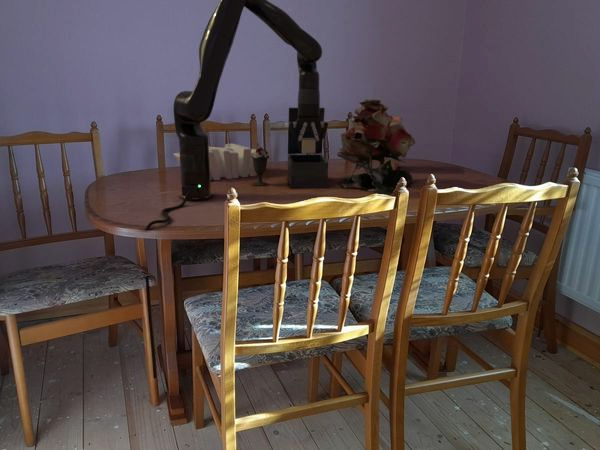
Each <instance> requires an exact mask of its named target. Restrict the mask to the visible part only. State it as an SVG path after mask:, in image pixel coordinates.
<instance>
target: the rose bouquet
mask: <svg viewBox="0 0 600 450" xmlns="http://www.w3.org/2000/svg"><path fill="white" fill-rule="evenodd" d="M359 105H360V106H361V107H357V108H356V109H355V110H354V114H356V115H354V116H351V118H350V119H351V122H352V124H353V126H351V127H350V128H349V129H346V131H345V132H342V133H341V134H340V138H341V139H340V141H341V143H340V144H341V147H342V148H338V150H339V151H338V152H337V153H336V156H337V157H339V158H341V159H344V160H346V161H348V162H351V163H352V164H355V166H354V169H353V171H352V174H351V176H349V177H347V179H346V181H344V182H341V183H339V184H340V185H341V186H343V189H349V188H356V189H358V190H359V189H360V190H363V191H369V192H373V193H376V194H379V193H381V194H384V195H391V194H393V193H392V192H393V191H394V190H395V188H396V185H397V183H398V182H399V180H400V178H401V177H404V178H405V179H406V181H407V186H409V185H410V184H411V183H412V182H413V175H412V174H411V172H410V171H409V172H408V170H405V169H403V168H397V169H396V170H393V168H392V166H391V159H390V160H389V161H387V162H386V163H384V162H385V159H384V157H388V158H392V159H394V160H396V161H398V163H405V164H406V163H407V162H406V161H404V160H401V159H400V158H401V157H402V158H403V159H405V158H406V157H407V156H408V151H410V149H411V147H412V146H414V145H415V144H416V139H415V138H414V137H413V136H412V134H410V133H409V132H408V131H407V129H406V128H405V126H404V125H403V124H400V123H398V122H391V121H392V119H393V117H394V116H392V115H389V114H388V112H387V110H389V107H388V106H387V105H385V104H383V103H382V100H381V99H376V98H375V99H374V98H373V99H364V100H363V101H360V102H359ZM398 157H399V159H398ZM373 161H378V162H379V165H378V166H377V167H376V168H375V167H374V168H373ZM387 166H388V168H387ZM361 168H363V170H364V171H365V172H359V173H357V174H356V175H354V173H355V172H356V171H357V170H358V171H359V170H360V169H361ZM371 186H373V187H375V188H371V189H368V188H367V187H371ZM381 194H380V195H381Z"/></svg>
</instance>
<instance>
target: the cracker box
mask: <svg viewBox="0 0 600 450" xmlns="http://www.w3.org/2000/svg"><path fill="white" fill-rule="evenodd" d="M392 117H393V119H392V121H391V122H398V123H400V124H401V125H403V124H402V123H403V117H402V116H392ZM384 159H385V162H384V163H386V162H387V161H389V160H390V159H391V166H392V168H393V170H396V169H398V168H399V161H396V160H394V159H392V158H388V157H384ZM398 159H399V160H400V157H398ZM387 168H388V166H387Z"/></svg>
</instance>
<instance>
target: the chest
mask: <svg viewBox="0 0 600 450" xmlns="http://www.w3.org/2000/svg"><path fill="white" fill-rule="evenodd" d="M328 179H329V162H328V161H327V159H326V158H325V156H324V155H323V153H322V154H287V180H288V183H289V187H290V189H328V188H329V187H328V184H329V183H328V182H329V180H328Z"/></svg>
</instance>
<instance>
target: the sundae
mask: <svg viewBox="0 0 600 450" xmlns="http://www.w3.org/2000/svg"><path fill="white" fill-rule="evenodd" d="M255 149H256V152H255V153H254V154H253V156H251V157H252V159H253V165H254V171H255V172H256V173H257V174H258V175H257V176H258V179H257V182H253V186H257V187H265V186H267V185H268V183H267V182H264V181H263V175H264V174H265V173H266V170H267V164H268V159H269V158H270V155H268V154H269V152H268V151H267V150H266V149H264V148H263V147H262V146H260V145H259V143H257V142H256V148H255Z"/></svg>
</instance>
